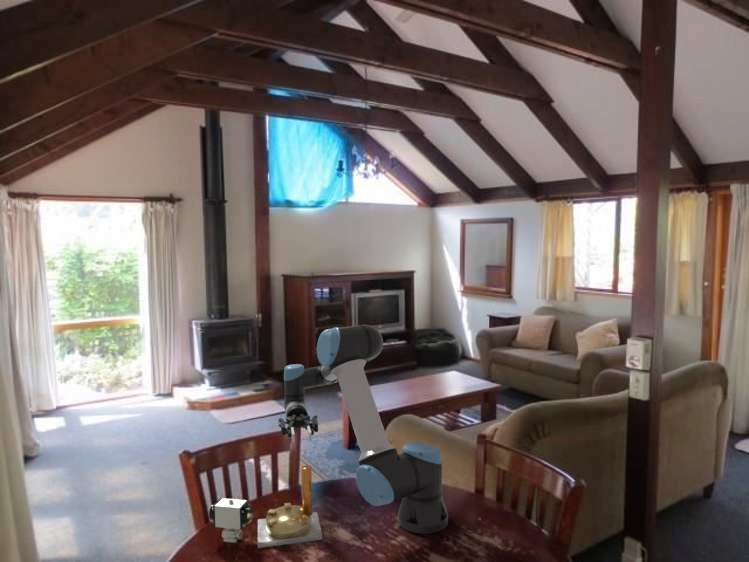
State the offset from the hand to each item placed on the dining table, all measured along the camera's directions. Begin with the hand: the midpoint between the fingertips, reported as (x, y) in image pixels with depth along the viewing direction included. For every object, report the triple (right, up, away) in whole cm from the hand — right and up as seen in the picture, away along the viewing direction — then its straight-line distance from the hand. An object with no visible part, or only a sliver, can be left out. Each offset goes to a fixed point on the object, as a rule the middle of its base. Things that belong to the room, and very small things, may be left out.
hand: (301, 437), depth 163 cm
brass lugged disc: (-2, -23, -10) cm, 25 cm away
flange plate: (-2, -25, -10) cm, 27 cm away
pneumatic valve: (-18, -25, -14) cm, 34 cm away
